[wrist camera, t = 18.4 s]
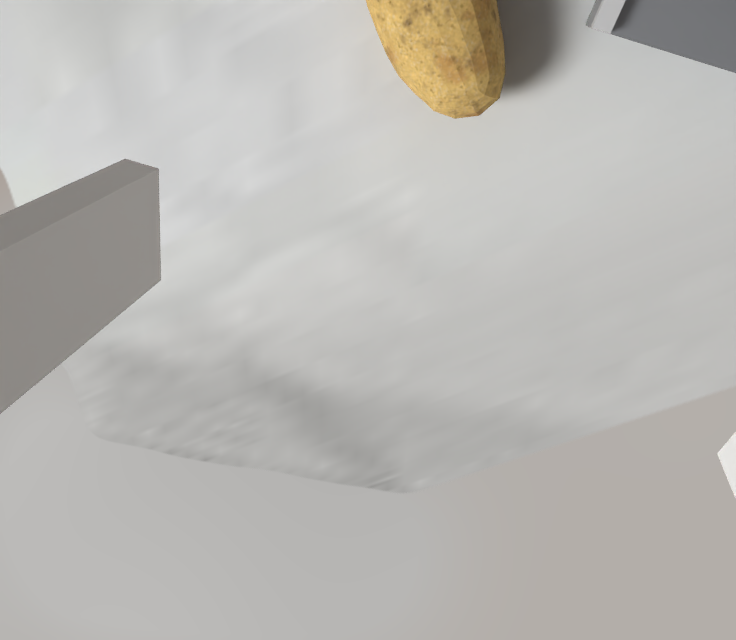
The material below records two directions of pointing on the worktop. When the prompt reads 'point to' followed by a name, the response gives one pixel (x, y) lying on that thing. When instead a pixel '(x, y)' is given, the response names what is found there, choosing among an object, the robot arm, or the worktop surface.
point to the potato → (444, 51)
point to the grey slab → (674, 26)
